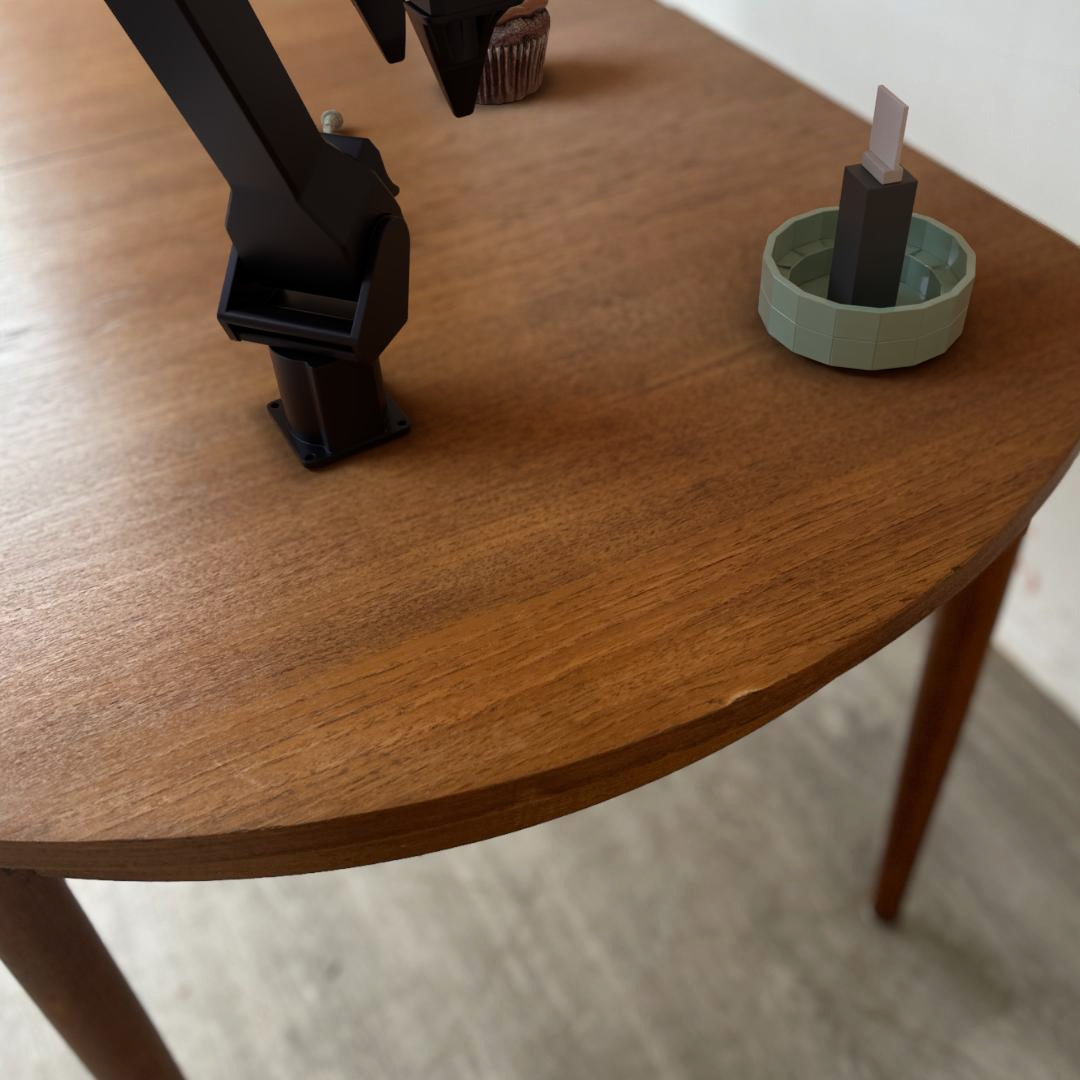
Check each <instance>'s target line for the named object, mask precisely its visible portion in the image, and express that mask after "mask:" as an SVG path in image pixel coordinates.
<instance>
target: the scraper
mask: <svg viewBox="0 0 1080 1080" xmlns="http://www.w3.org/2000/svg"><path fill="white" fill-rule="evenodd" d="M909 108H910V106H908V104H907V103H905V102H904V101H903V100H902V99H901V98H899V97H898V96H897V95H896V94H895V93H893V92H892V91H891V90H890V89H889V88H888V87H886V86H885V85H884V84H880V85H879V84H878V85H877V90H876V98H875V103H874V110H873V118H872V124H871V130H870V138H869V145H868V149H869V150H865V151H863V152H862V158H861V162H860V163H856V164H855V163H853V164H849V165H845V166H844V169H843V176H842V183H841V192H840V197H839V204H838V206H839V212H838V220H837V227H836V234H835V242H834V249H833V257H832V264H831V271H830V279H829V286H828V294H827V300H830V301H833V302H836V303H839V304H846V305H855V306H864V307H874V308H887V307H895V306H896V300H897V295H898V289H899V284H900V278H901V273H902V267H903V262H904V256H905V251H906V245H907V240H908V235H909V229H910V224H911V218H912V213H913V212H914V207H915V202H916V195H917V192H918V191H917V190H918V185H919V180H918V179H917V178H916V177H915V176H914V175H913V174H911V172H909V171H908V170H907V169H906V168H905V167H904V166H903V165H902V164H901V163H900V162H901V158H902V157H901V156H902V152H903V145H904V139H905V133H906V127H907V120H908V116H909V115H908V114H909Z"/></svg>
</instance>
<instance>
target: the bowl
mask: <svg viewBox="0 0 1080 1080" xmlns="http://www.w3.org/2000/svg"><path fill="white" fill-rule="evenodd" d="M838 212H839V205H834V206H825V207H819V208H818V207H817V208H816V209H813V210H809V211H807V212H804V213H801V214H798V215H795V216H793V217H789V218H787V219H786V220H785V221H784V222H783V223H781V225H780V226H778V227H777V228H776V229H774V230H773V231H772V232H771V233H770V234H769V235H768V236H767V240H766V243H765V247H764V250H763V253H762V261H761V262H762V263H761V271H760V273H761V274H760V285H759V297H758V304H757V305H758V306H757V312H758V314H759V316H760V318H761V320H762V322H763V325H764V327H765V329H766V331H767V333H768V334H769V335H770V336H771V337H772V338H774V339H775V340H776V341H778V342H779V343H780V344H781V345H783V346H784V347H785V348H787V349H788V350H789V351H790V352H792V353H794V354H796V355H799V356H801V357H805V358H808V359H811V360H813V361H816V362H819V363H822V364H823V365H827V366H831V367H839V368H847V369H856V370H862V371H863V370H865V371H879V370H880V371H881V370H888V369H897V368H904V367H905V368H906V367H914V366H916V365H919V364H921V363H923V362H926V361H928V360H930V359H931V360H932V359H934V358H935V357H937V356H940V355H943V354H945V353H946V351H948V350H949V349H950V347H951V346H952V345H953V344H954V343H955V342H956V340H957V339H958V338H959V337H961V335H962V334H963V331H964V328H965V327H964V326H965V322H966V318H967V314H968V309H969V305H970V300H971V296H972V291H973V288H974V283H975V279H976V268H977V267H976V266H977V264H976V263H977V255H976V253H975V252H974V250H973V249H972V247H971V246H970V245H969V244H968V242H967V241H966V239H965V238H964V237H963V236H962V234H961V233H959V232H957V231H956V230H954V229H952V228H950V227H949V226H947V225H945V224H944V223H942V222H940V221H938V220H937V219H935V218H934V217H931V216H928V215H924V214H920V213H916V212H914V211H913V213H912V218H911V224H910V229H909V235H908V240H907V245H906V251H905V256H904V262H903V267H902V273H901V278H900V284H899V289H898V295H897V300H896V306H895V307H887V308H874V307H864V306H855V305H846V304H839V303H836V302H833V301H830V300H827V294H828V286H829V279H830V271H831V264H832V257H833V249H834V242H835V234H836V227H837V220H838Z"/></svg>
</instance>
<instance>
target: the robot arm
mask: <svg viewBox="0 0 1080 1080" xmlns="http://www.w3.org/2000/svg"><path fill="white" fill-rule="evenodd" d="M524 1H525V0H350V2H351V4H352V5H353V7H354V9H355V11H356V12H357V14H358V15H359V17H360V19H361V20H362V22H363V24H364V26H365V27H366V28H367V31H368V33H369V34H370V35H371V37H372V40H373V41H374V43H375V44H376V46H377V49H378V50H379V51H380V53H381V54H382V55H381V56H383V58H384V60H385V61H386V62H387V64H389V65H393V64H397V63H402V62H403V61H405V58H406V49H407V48H406V45H407V44H406V43H407V17H408V19H409V21H410V23H411V26H412V27H413V30H414V32H415V34H416V36H417V38H418V40H419V43H420V45H421V47H422V50H423V52H424V54H425V56H426V59H427V61H428V64H429V65H430V68H431V70H432V73H433V75H434V77H435V79H436V81H437V84H438V86H439V89H440V90H441V93H442V95H443V97H444V100H445V101H446V103H447V105H448V107H449V109H450V111H451V113H452V115H453V116H454V117H455V118H457V119H461V118H465V117H468V116H472V114H473V113H474V112H475V108H476V104H477V103H476V100H477V96H478V91H479V87H480V82H481V78H482V74H483V69H484V65H485V61H486V56H487V52H488V48H489V45H490V41H491V38H492V35H493V32H494V28H495V26H496V24H497V22H498V21H499V19H500V18H501V17H502V16H503V15H504V14H505V13H506V12H507V10H508V9H509V8H511V7H515V6H518V5H521V4H522V3H523V2H524ZM103 2H104V3H105V4H106V6H107V7H108V9H109V11H110V12H111V13H112V15H113V17H114V18H115V19H116V21H117V22H118V24H119V25H120V27H121V29H122V30H123V31H124V32H125V34H126V36H127V37H128V38H129V40H130V41H131V42H132V44H133V46H134V47H135V49H136V50H137V52H138V54H140V56H141V57H142V59H143V60H144V62H145V63H146V65H147V66H148V68H149V69H150V71H151V72H152V74H153V75H154V77H155V78H156V80H157V81H158V82H159V84H160V85H161V87H162V89H164V92H165V93H166V94H167V95H168V97H169V98H170V100H171V102H172V103H173V105H174V106H175V108H176V109H177V110H178V112H179V113H180V115H181V117H183V119H184V121H185V122H186V124H187V125H188V127H189V128H190V130H191V131H192V133H193V134H194V135H195V137H196V138H197V140H198V141H199V143H200V144H201V146H202V147H203V148H204V150H205V151H206V153H207V155H208V156H209V157H210V159H211V160H212V162H213V163H214V165H215V166H216V168H217V169H218V171H219V173H220V174H221V175H222V177H223V178H224V180H225V181H226V183H227V184H228V186H229V189H230V190H229V195H228V202H227V207H226V212H225V218H224V228H225V230H226V232H227V235H228V236H229V239H230V241H231V243H232V244H231V247H230V252H229V257H228V261H227V266H226V270H225V274H224V275H225V276H224V280H223V284H222V287H221V293H220V297H219V302H218V306H217V311H216V320H217V322H218V323H219V325H220V326H221V328H222V330H223V331H224V333H225V334H226V336H227V337H228V339H229V340H230V341H234V342H242V341H243V342H248V343H254V344H259V345H264V346H267V347H268V351H269V355H270V359H271V363H272V367H273V372H274V375H275V380H276V384H277V388H278V392H279V395H280V398H277V399H275V400H272V401H270V402H269V403H267V405H266V410H267V413H268V415H269V418H271V421H272V422H273V423H274V424H275V426H276V427H277V429H278V431H279V432H280V434H281V436H282V437H283V439H284V440H285V441H286V443H287V444H288V446H289V447H290V449H291V450H292V452H293V454H294V455H295V457H296V458H297V459H298V461H299V462H300V464H301V465H302V467H303V468H304V469H307V470H313V469H316V468H320V467H322V466H324V465H326V464H329V463H332V462H336V461H338V460H339V459H343V458H345V457H348V456H350V455H353V454H356V453H358V452H362V451H364V450H366V449H370V448H372V447H375V446H377V445H380V444H383V443H385V442H388V441H390V440H393V439H396V438H398V437H401V436H404V435H407V434H408V433H410V432H411V431H412V422H411V420H410V418H409V417H408V416H407V415H406V413H405V412H404V411H403V410H402V408H401V407H400V406H399V405H398V403H397V402H396V401H395V400H394V398H393V397H392V396H391V395H390V393H389V392H388V391H387V390H386V388H385V384H384V379H383V373H382V372H383V371H382V366H381V360H380V356H381V355H382V354H383V352H385V350H386V349H387V348H388V347H389V345H390V344H391V342H392V341H393V340H394V339H395V337H396V336H397V335H398V334H399V333H400V331H401V330H402V329H403V328H404V326H405V325H406V324H407V322H408V320H409V299H410V298H409V296H410V268H411V267H410V266H411V265H410V264H411V236H410V235H411V234H410V230H409V226H408V224H407V221H406V220H405V218H404V214H403V212H402V208H401V206H400V204H399V203H398V201H397V200H396V197H397V196H398V195H399V194H400V192H401V189H400V186H398V185H397V184H396V183H395V182H393V181H392V179H391V178H390V175H389V174H388V172H387V170H386V167H385V163H384V160H383V157H382V155H381V151H380V150H379V149H378V147H377V146H376V145H375V144H374V143H373V141H372V140H371V139H369V138H368V137H362V136H355V135H347V134H340V133H334V134H332V133H325V132H324V131H319V128H318V127H317V125H316V123H315V121H314V119H313V118H312V116H311V113H310V112H309V110H308V108H307V107H306V105H305V103H304V101H303V99H302V97H301V96H300V93H299V91H298V89H297V87H296V86H295V84H294V82H293V80H292V78H291V77H290V75H289V73H288V71H287V69H286V68H285V65H284V64H283V62H282V61H281V58H280V56H279V54H278V53H277V50H276V49H275V47H274V45H273V44H272V41H271V40H270V37H269V36H268V34H267V32H266V30H265V29H264V27H263V25H262V23H261V21H260V19H259V17H258V16H257V13H256V11H255V10H254V8H253V6H252V5H251V3H250V1H249V0H103Z"/></svg>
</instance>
